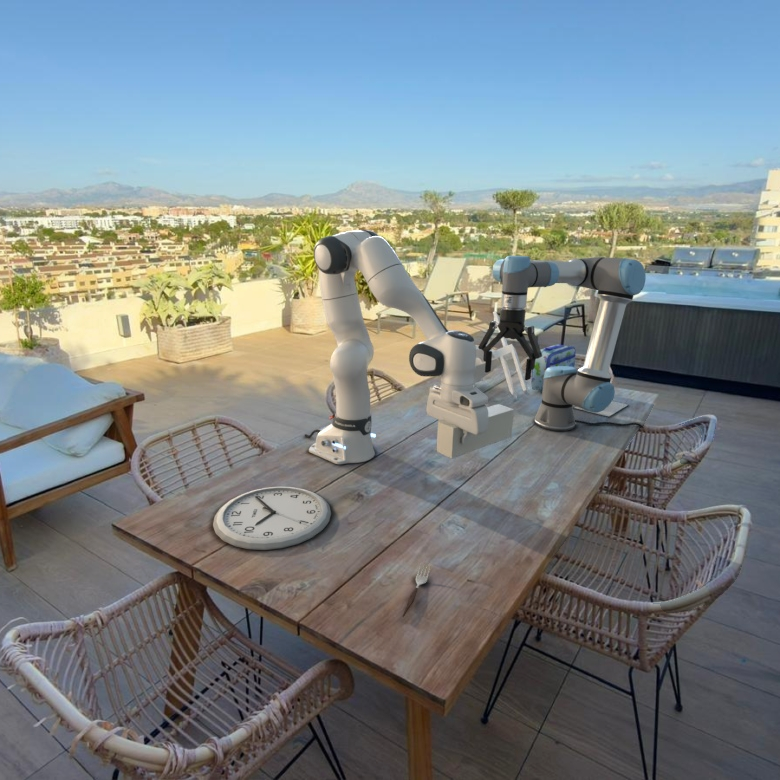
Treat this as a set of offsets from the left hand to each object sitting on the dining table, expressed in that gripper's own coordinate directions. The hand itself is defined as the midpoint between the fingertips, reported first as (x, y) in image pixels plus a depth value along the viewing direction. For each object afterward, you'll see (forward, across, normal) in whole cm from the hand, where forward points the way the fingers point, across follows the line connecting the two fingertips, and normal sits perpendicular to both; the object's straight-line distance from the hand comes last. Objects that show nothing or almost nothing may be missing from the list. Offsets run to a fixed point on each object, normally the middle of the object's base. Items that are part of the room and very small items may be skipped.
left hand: (454, 439), depth 145 cm
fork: (+17, +26, -36) cm, 48 cm away
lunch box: (+17, -44, +112) cm, 122 cm away
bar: (+4, 0, +9) cm, 10 cm away
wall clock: (+17, -20, -46) cm, 53 cm away
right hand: (-12, -7, +31) cm, 34 cm away
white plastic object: (+17, -61, +80) cm, 102 cm away
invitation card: (+17, -15, +108) cm, 110 cm away
